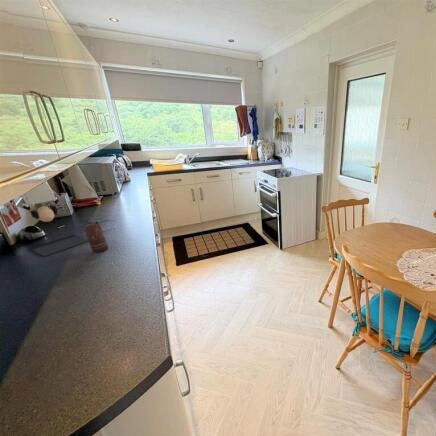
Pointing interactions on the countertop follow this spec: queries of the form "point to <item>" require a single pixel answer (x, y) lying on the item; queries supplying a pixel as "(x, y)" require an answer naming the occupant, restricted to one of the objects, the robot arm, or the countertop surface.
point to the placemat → (58, 245)
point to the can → (95, 237)
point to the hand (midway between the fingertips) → (45, 215)
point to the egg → (45, 214)
